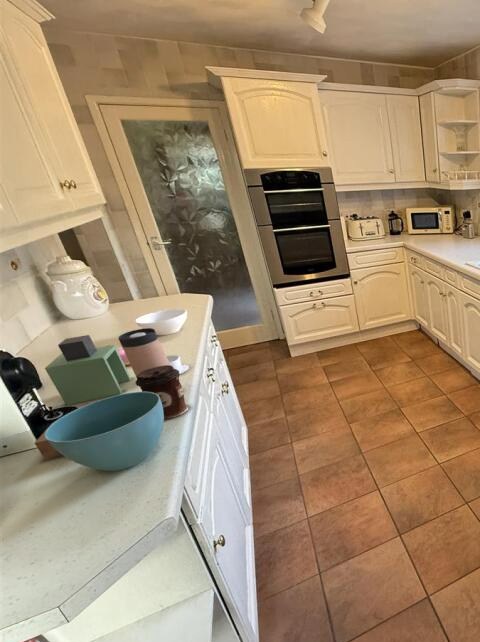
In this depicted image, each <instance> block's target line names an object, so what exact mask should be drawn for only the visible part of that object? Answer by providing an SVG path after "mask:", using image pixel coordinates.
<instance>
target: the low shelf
mask: <svg viewBox="0 0 480 642" xmlns="http://www.w3.org/2000/svg"><path fill="white" fill-rule="evenodd" d="M54 422H55V421H53V422H51V424H53V423H54ZM47 429H48V427H47V428H46V429H45V431H46V430H47ZM45 431H43V433H41V435H40V436H39V437H38V438H37V440H35V442H34V445H35V446H36V448H37V450H38V451H39V453H40V454H41V456H42V457H43V459H44V460H45V461H49V460H53V459H57V458H61V457H65V456H64V455H62V454H61V453H60V452H58V451H57V450H56V449H55V448H54V447H53V446H52V445H51V444H50V443H49V442H48V441H47V440H46V438H45V436H44V434H45Z"/></svg>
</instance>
